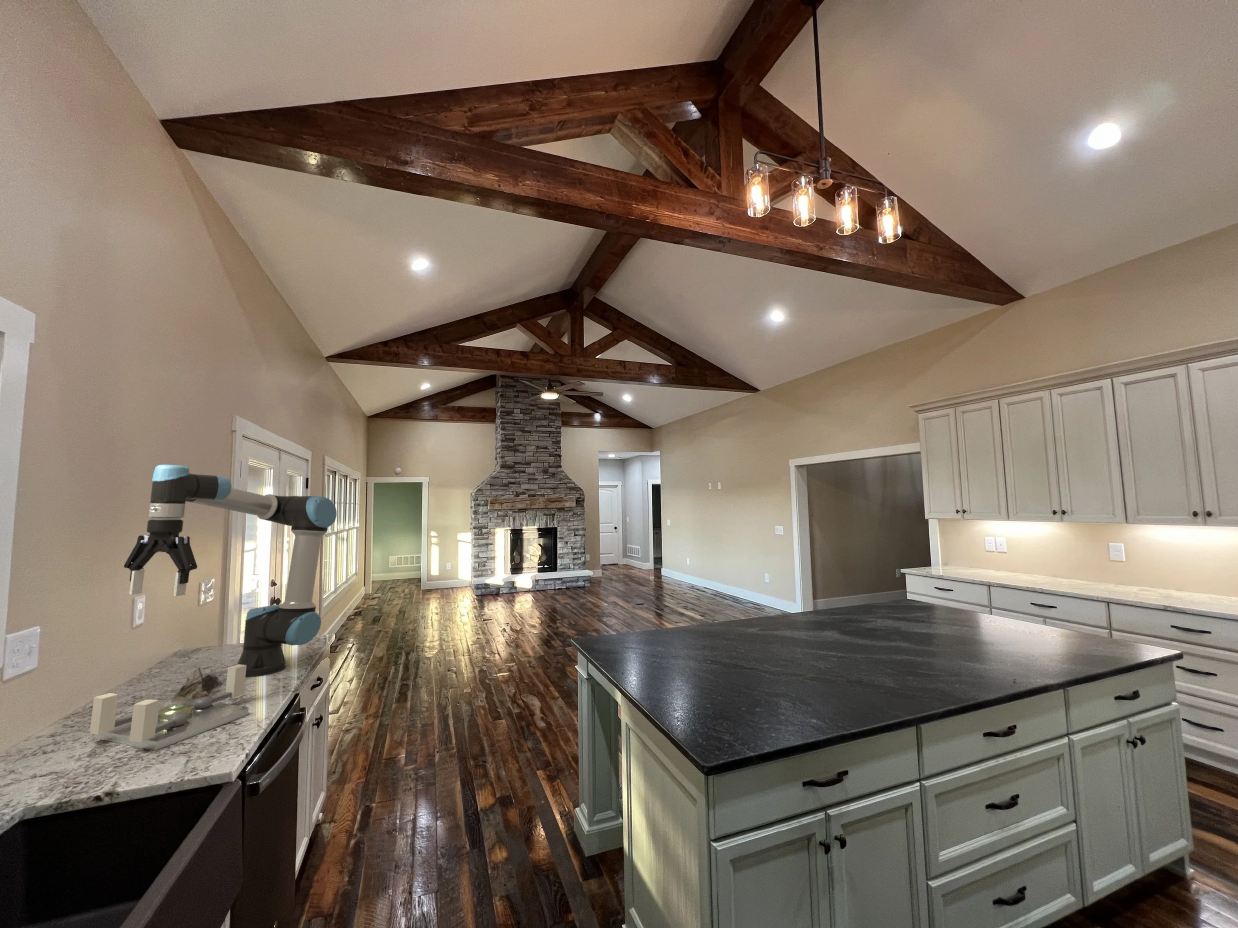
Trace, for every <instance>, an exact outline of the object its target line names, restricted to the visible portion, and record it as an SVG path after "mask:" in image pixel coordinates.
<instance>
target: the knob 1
mask: <svg viewBox="0 0 1238 928" xmlns="http://www.w3.org/2000/svg"><path fill="white" fill-rule="evenodd" d="M118 700H119V694H117V693H112V692H108V693H104V694H102V695H97V696H93V704H92V712H91V719H90V726H89V727H90V728H89V734H91V735H92V734H97V735H99V734H102V733H105V732H108V731H111V730H114V727H117V726H120V725H123V724H126V723H130V722H132V715H133V714H129V715H127V716H124V717H120V718H117V709H118V702H119V701H118Z"/></svg>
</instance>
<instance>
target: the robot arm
mask: <svg viewBox="0 0 1238 928" xmlns="http://www.w3.org/2000/svg"><path fill="white" fill-rule="evenodd" d="M151 481H152V483H151V484H152V485H151V490H150V491H151V493H150V501H149V511H148V518H151V519H148V520H147V527H146V532H147V533H148V534H149V535H148V534H146V535H145V534H144V535H143V534H141V535H138V537H137V541H136V543H135V544H134V545H135V546H133V548H132V551H131V552H130V554H129V556H128V557H127V559H126V561H125V562H124V565H123V567H124V568H125V569H129V571H130V575H129V582H130V587H129V594H128V595H138V594H143V588H144V585H143V584H144V577H145V568H144V567H145V566H146V565H147V564H148V562H150V560H152V558H153V556H155V555H156V554H157V553H159V552H160V553H166V554H167V555H168V556H169V557H170V559H171V560H172V562H173V563H174V565H175V566H176V568H177V571H176V572H175V580H174V587H173V588H174V589H173V597H180V596H186V590H187V584H188V583H189V579H190V578H189V577H190V573H191V571H193V570H197V569H198V565H197V562H196V558H195V555H194V552H193V549H192V547H191V544H190V543H191V537H190V536H188V535H185V536H183V535H181V536H180V533H183V527H184V520H182V519H183V518H184V517H185V510H186V509H185V508H186V503H193V504H199V505H203V506H209V507H214V508H218V509H224V510H228V511H231V512H238V513H243V514H247V515H254V516H257V518H258V519H260V520H264V521H268V522H272V523H275V524H280V525H283V526H289V527H290V531H291V533H292V534H293V535H294V540H293V545H292V546H293V548H292V552H291V559H290V566H289V572H288V578H287V584H286V590H285V597H284V602H282V603H281V604H276V605H275V604H274V605H268V606H261V607H260V606H259V607H256V608H251V609H250V610H248V611H247V613H246V617H245V620H244V622H245V623H244V634H243V635H244V636H243V637H244V638H243V649H242V653H241V654H240V656H239V657H240V658H239V659H238V661H237V664H236V665H238V664H240V665H246V676H245V678H246V677H248V678H249V677H258V676H259V677H260V676H261V677H262V676H266V675H271V674H274V673H275V674H276V673H278V672H280V671H283V670H284V669H286V659H285V655H284V650H283V648H282V647H283V646H282V645H289V646H303V645H306V644H308V643H309V642H311V641H312V640H313V639H314V638H315V637H316V636H317V635H318V633H319V632H320V630H321V625H322V620H321V619H322V618H321V617H320V614H318V613H317V612H316V609H317V607H316V606H317V605H316V604H315V603H314V602H313V597H314V592H315V591H314V590H315V583H316V577H317V571H318V565H319V563H318V562H319V558H320V557H319V556H320V550H321V543H322V537H323V536H325V534H326V535H327V533H328V528H329V527H331V526H332V525H333V524H334V522H336V519H337V515H338V513H337V508H336V505H335V503H333V501H332V500H331V499H330V498H328V497H327V496H326V497H325V496H319V495H302V496H301V495H275V494H272V493H270V494H269V493H268V494H265V495H263V494H259V493H255V492H250V491H248V490H247V491H245V490H242V489H239V488H234V487H232V482H231V480H230V478H228V477H226V476H221V475H218V474H217V475H211V474H210V475H209V474H195V473H190V468H189V467H188V466H185V465H177V464H176V465H175V464H158V465H156V466H155V468H154V471H153V474H152V479H151Z"/></svg>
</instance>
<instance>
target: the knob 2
mask: <svg viewBox="0 0 1238 928" xmlns="http://www.w3.org/2000/svg"><path fill="white" fill-rule="evenodd" d="M159 702H160V700H159V699H145V700H144V699H143V700H141V701H140V702H137V703H134V704H133V708H132V714H131V715H132V723H131V732H130V740H129V741H133V742H143V741H145V740H147V739H150V738H152V737H154V736H155V733H158V732H160V731H162V730H164V729H167V728H169V727H174V726H179V725H183V724H185V723H187V719H188V713H177V714H173V715H170V716H169V717H168V720H167V721H165V722H162V723H160V724H158V725H156V721H157V713H158V708H159Z"/></svg>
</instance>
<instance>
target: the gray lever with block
mask: <svg viewBox="0 0 1238 928" xmlns="http://www.w3.org/2000/svg"><path fill="white" fill-rule="evenodd" d="M237 664H238V663H237ZM237 664H235V665H231V666H228V667H227V674H226V683H225V684H226V685H225V692H222V693H220V694H216V695H213V696H210V695H209V696H207V697H201V698H197V699H195V700H194V709H202V708H207V707H210V706H211V705H212V703H214V702H217V703H218V702H219V701H222V700H226V699H229V698H231V699H235V698H237V697H241V696H243V695H244V693H245V684H246V677H245V676H246V665H240V664H238V665H237Z"/></svg>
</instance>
